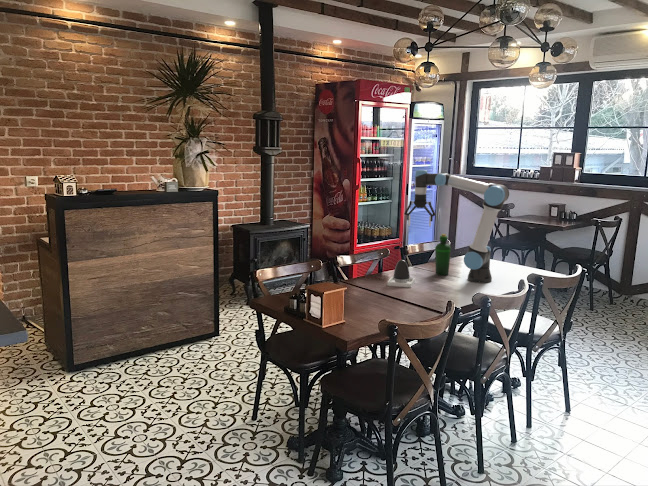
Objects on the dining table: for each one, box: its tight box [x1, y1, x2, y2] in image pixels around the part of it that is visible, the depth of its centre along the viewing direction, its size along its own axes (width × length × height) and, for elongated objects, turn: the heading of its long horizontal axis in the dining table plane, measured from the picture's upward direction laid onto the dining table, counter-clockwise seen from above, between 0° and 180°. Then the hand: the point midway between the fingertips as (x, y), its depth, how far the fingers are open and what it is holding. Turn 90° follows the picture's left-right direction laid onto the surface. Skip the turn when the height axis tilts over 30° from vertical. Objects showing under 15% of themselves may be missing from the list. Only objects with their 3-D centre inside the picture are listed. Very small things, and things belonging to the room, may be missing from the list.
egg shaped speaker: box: [393, 259, 411, 283], centre depth 333 cm, size 10×10×15 cm
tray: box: [386, 275, 416, 289], centre depth 335 cm, size 15×15×2 cm
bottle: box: [434, 233, 452, 277], centre depth 357 cm, size 11×11×28 cm
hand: (419, 225), depth 347 cm, fingers open, 13 cm apart
